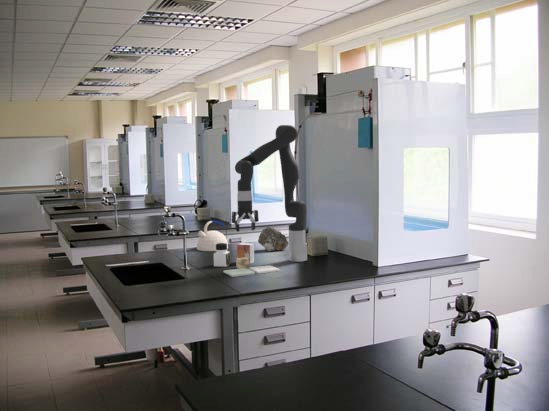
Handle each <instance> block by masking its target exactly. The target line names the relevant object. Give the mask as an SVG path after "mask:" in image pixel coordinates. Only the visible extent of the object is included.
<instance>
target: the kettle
mask: <svg viewBox="0 0 549 411" xmlns="http://www.w3.org/2000/svg"><path fill="white" fill-rule="evenodd" d="M210 224H217V225H220V226H221V227H222V228H223V227H226V224H224V223H222V222H221V221H218V220H209V221H207V222H206V223H205V225H204V227H203V230H198V233H197V235H198V236H199V237H198V240H197V242H196V250H197V251H201V252H217V251H216V244H218V243H226V244H227V250H228V249H229V245H228V240H227V237H226V236H225V235H224V233H221V230H220V229H219V230H217V229H216V230H208V227H209V225H210Z"/></svg>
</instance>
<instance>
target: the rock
mask: <svg viewBox="0 0 549 411" xmlns="http://www.w3.org/2000/svg"><path fill="white" fill-rule="evenodd" d="M257 242H258V244H259V245H261V246H262V247H264V249H265V250H266V251H267V252H272V251H273V252H274V251H278V250H279V251H285V249H287V247H289V240H288V238H287V237H286V235H285V234H282V232H281V231H280V230H277V229H275V228H273V227H271V226H268V227H266V228H264V229H262V230H261V233H260V234H259V236H258V240H257Z"/></svg>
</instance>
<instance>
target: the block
mask: <svg viewBox="0 0 549 411" xmlns="http://www.w3.org/2000/svg"><path fill="white" fill-rule="evenodd" d="M235 261H236V262H235V263H236V264H235V265H236V267H235V269H241V268H246V269H249V268H250V264H249V259H248V258H245V257H244V258H237V257H236V260H235Z"/></svg>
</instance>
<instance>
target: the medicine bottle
mask: <svg viewBox="0 0 549 411" xmlns="http://www.w3.org/2000/svg"><path fill="white" fill-rule="evenodd" d="M230 253H231V251H228V249H227V244H226V243H218V244H216V251H214V253H213V267H221V268H222V267H225V268H226V267H228V266H229V265H230V264H231V254H230Z"/></svg>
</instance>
